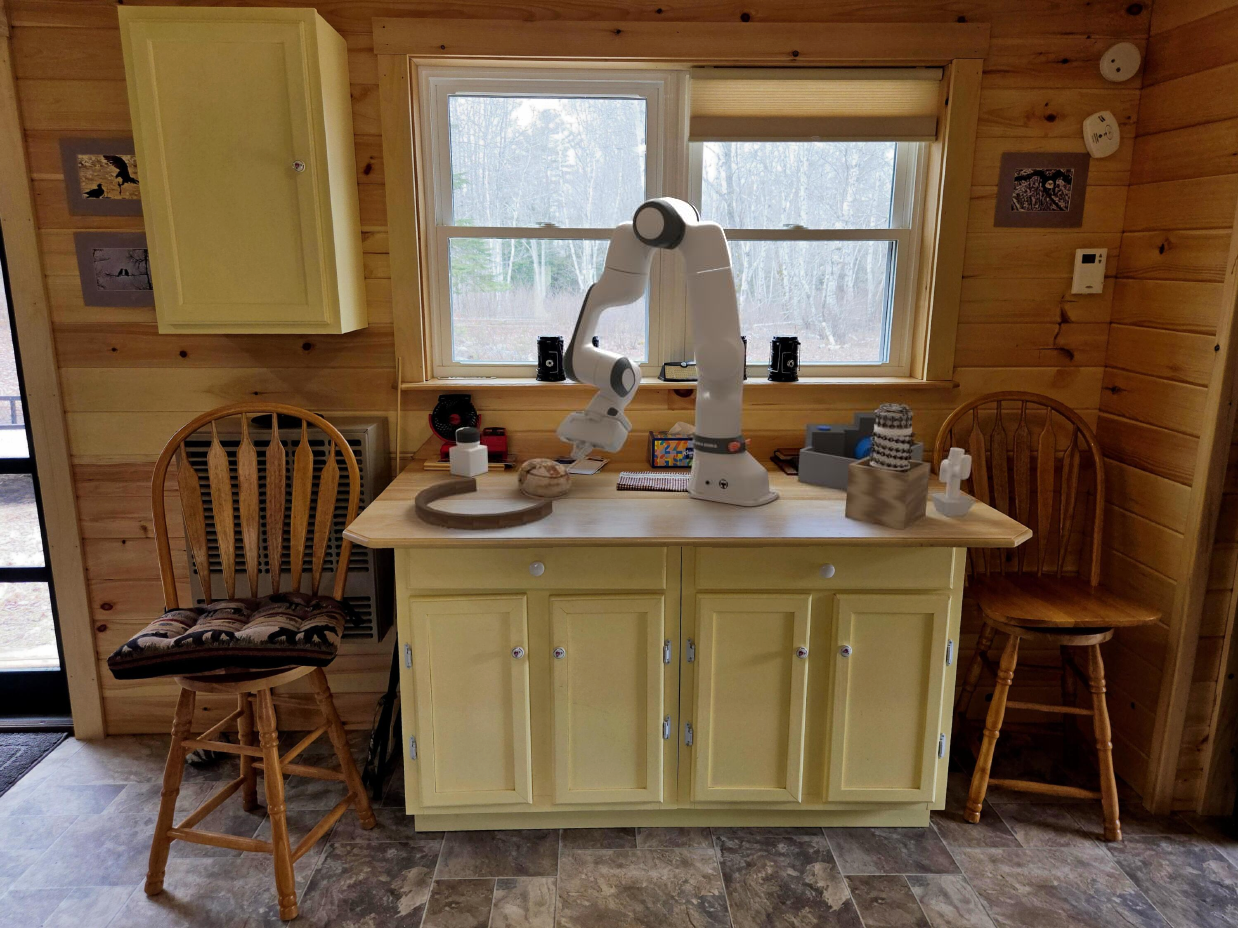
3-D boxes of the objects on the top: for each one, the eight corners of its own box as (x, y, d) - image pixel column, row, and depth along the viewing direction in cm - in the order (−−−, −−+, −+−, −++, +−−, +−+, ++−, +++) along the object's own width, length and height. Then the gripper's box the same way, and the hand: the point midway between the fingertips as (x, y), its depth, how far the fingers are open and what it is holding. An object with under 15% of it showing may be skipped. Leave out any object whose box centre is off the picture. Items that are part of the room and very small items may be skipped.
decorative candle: (902, 525, 176) (913, 410, 170) (859, 518, 181) (868, 406, 175) (910, 513, 184) (921, 404, 178) (868, 507, 189) (877, 400, 182)
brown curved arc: (558, 513, 183) (558, 500, 183) (475, 540, 166) (475, 526, 165) (469, 488, 203) (469, 476, 202) (387, 509, 186) (386, 496, 185)
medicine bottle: (488, 471, 218) (487, 427, 215) (470, 477, 212) (468, 432, 209) (468, 468, 222) (466, 424, 219) (449, 473, 216) (447, 429, 213)
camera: (812, 483, 210) (816, 423, 206) (803, 467, 226) (807, 411, 222) (912, 486, 208) (918, 425, 204) (897, 469, 224) (902, 412, 220)
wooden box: (925, 515, 183) (930, 463, 180) (901, 529, 174) (907, 474, 171) (870, 503, 191) (874, 453, 188) (844, 516, 182) (848, 464, 179)
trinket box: (532, 481, 209) (531, 451, 207) (584, 489, 203) (584, 458, 201) (503, 495, 198) (502, 463, 196) (556, 503, 191) (556, 470, 189)
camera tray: (922, 472, 219) (925, 443, 217) (874, 496, 197) (876, 464, 195) (848, 459, 233) (851, 431, 231) (796, 480, 211) (798, 450, 209)
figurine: (954, 506, 190) (961, 443, 186) (976, 518, 181) (984, 452, 177) (924, 507, 189) (931, 443, 185) (945, 520, 180) (953, 453, 176)
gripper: (567, 402, 217) (541, 444, 213) (626, 413, 204) (599, 458, 200) (579, 416, 222) (553, 457, 217) (637, 428, 209) (611, 472, 204)
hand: (575, 458), depth 208 cm, fingers closed
